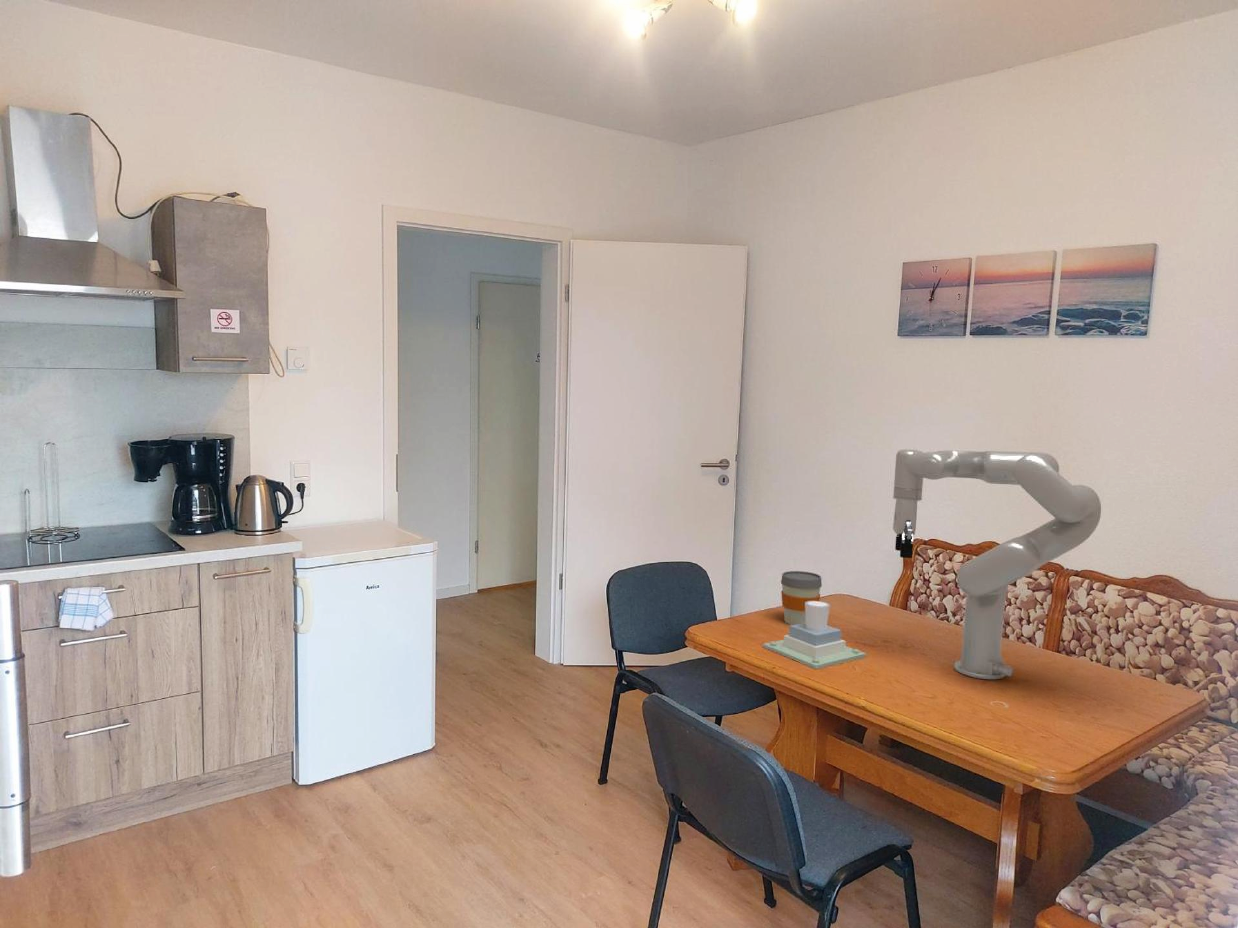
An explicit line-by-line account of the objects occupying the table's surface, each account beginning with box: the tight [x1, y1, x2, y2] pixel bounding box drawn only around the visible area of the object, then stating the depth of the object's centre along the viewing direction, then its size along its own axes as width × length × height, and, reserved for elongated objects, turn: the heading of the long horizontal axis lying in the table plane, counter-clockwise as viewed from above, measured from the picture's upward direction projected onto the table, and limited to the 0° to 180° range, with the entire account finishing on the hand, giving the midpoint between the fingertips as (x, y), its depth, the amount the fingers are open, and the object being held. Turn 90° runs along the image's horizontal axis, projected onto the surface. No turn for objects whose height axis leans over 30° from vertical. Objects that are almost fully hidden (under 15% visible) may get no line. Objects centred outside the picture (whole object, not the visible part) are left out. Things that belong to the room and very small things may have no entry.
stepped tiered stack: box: [762, 623, 867, 670], centre depth 234 cm, size 20×20×7 cm
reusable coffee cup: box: [780, 570, 823, 626], centre depth 262 cm, size 13×13×15 cm
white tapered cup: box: [805, 600, 831, 631], centre depth 233 cm, size 7×7×7 cm
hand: (903, 553), depth 234 cm, fingers open, 9 cm apart
